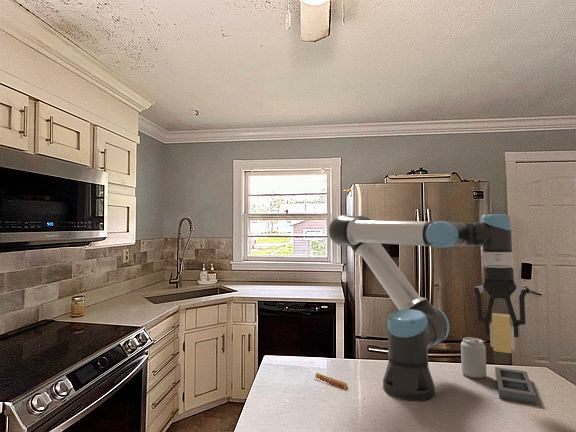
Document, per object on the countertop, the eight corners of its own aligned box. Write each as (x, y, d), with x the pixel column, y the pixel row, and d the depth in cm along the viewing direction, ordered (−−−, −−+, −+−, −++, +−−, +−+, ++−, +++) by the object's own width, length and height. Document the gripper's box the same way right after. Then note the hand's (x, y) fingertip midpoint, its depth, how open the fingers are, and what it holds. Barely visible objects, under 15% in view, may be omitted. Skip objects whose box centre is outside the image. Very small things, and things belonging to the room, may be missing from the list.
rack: (499, 398, 105) (498, 389, 105) (495, 374, 123) (495, 367, 123) (536, 404, 101) (536, 395, 101) (526, 379, 119) (526, 371, 119)
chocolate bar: (344, 392, 111) (343, 384, 111) (314, 380, 119) (313, 373, 119) (348, 389, 113) (348, 382, 113) (319, 378, 121) (318, 371, 121)
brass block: (493, 351, 104) (491, 315, 105) (493, 346, 108) (492, 313, 109) (511, 353, 102) (509, 317, 103) (511, 349, 106) (509, 314, 106)
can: (489, 380, 118) (488, 343, 119) (465, 378, 119) (464, 342, 120) (482, 372, 125) (481, 336, 126) (459, 370, 127) (458, 335, 127)
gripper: (464, 266, 108) (467, 346, 106) (535, 268, 99) (540, 355, 97) (466, 264, 114) (469, 339, 113) (533, 266, 105) (537, 347, 104)
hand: (502, 346), depth 105 cm, fingers closed on brass block, 4 cm apart
